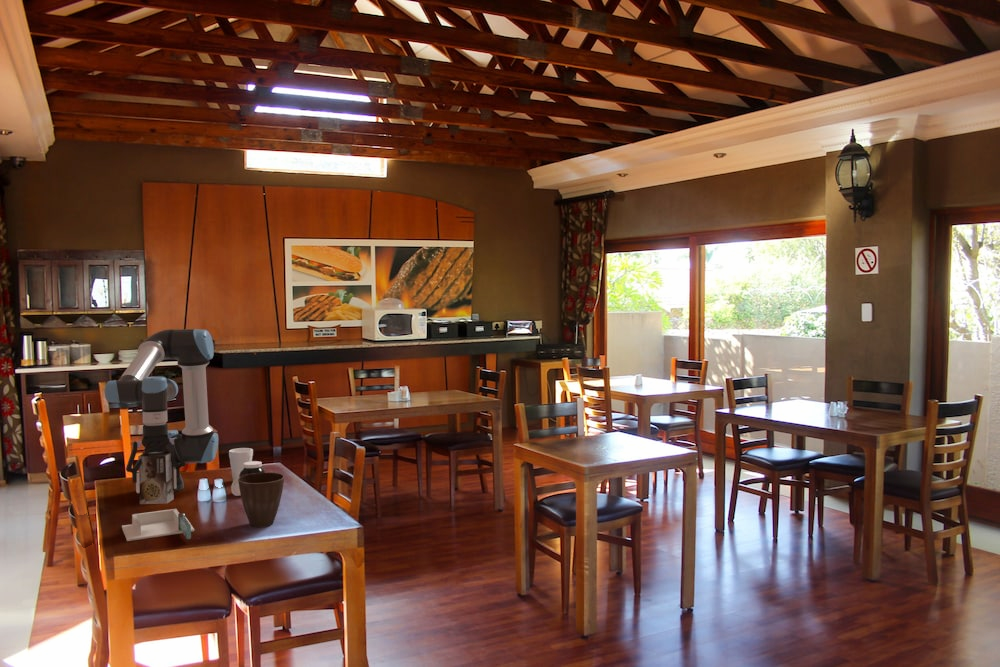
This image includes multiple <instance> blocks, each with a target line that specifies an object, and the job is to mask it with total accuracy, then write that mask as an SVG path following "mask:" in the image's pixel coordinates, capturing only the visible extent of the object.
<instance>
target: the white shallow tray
mask: <svg viewBox="0 0 1000 667" xmlns="http://www.w3.org/2000/svg"><path fill="white" fill-rule="evenodd" d="M178 514H180V512H179V511H178V509H177V508H171V509H163V510H156V511H148V512H141V513H133V514H131V524H126V525H125V524H124V525H121V530H122V532H123V535H124V536H125V539H126V542H131V541H137V540H138V541H139V540H145V539H146V540H147V539H151V538H159V537H165V536H171V535H172V536H173V535H178V534H180V535H181V534H183V532H182V531H181V530H178ZM185 518H186V520H187V521H188V523H189V524H190V525H191V533H192V532H195V528H194V527H193V525H192V524H191V522H190V521H189V519H188V518H187V517H186V516H185Z"/></svg>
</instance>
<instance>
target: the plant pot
mask: <svg viewBox="0 0 1000 667" xmlns="http://www.w3.org/2000/svg"><path fill="white" fill-rule="evenodd" d="M238 482H239V488H240V494H241V496H240V498H241V501H242V502H241V503H242V505H243V509H244V512H245V514H246V518H247V520H248V522H249V525H250V526H251V527H254V528H265V527H269V526H272V525H274V521H275V519H276V516H277V513H278V510H279V508H280V504H281V499H282V495H283V489H284V482H285V475H284V474H282V473H278V472H270V471H269V472H266V473H254V474H248V475H244V476H241V477H240V478H239V479H238Z"/></svg>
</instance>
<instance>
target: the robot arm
mask: <svg viewBox="0 0 1000 667" xmlns="http://www.w3.org/2000/svg"><path fill="white" fill-rule="evenodd" d="M214 347H215V346H214V342H213V338H212V335H211V333H210V332H209V331H208V330H207V329H198V328H184V329H183V328H182V329H179V328H177V329H176V328H175V329H169V328H167V329H163V330H159V331H157V332H155V333H153V334H151V335H150V336H148V337H147V338H145V339H144V340H143V341H142V342H141V343H140V345H139V346H138V348H137V354H136V355H135V357H134V358H133V360H132V361H131V362H130V363H129V365H128V366H127V368H126V369H125V371H124V372H123V373H122V374H121V376H120V377H119V379H118V380H116V379H114V380H109V381H107V382H106V384H105V386H104V398H105V400H106V402H108V403H112V404H114V403H117V404H120V403H121V404H122V403H123V404H124V403H125V404H126V403H142V404H141V405H142V424H143V425H142V439H141V440H138V441H137V440H133V441H132V442H131V444H132V449H131V452H130V454H129V458H128V462H127V464H126V467H125V471H126V472H127V473H131V476H132V477H131V479H132V483H133V484H134V483H135V490H136V491H135V492H136V493H137V494H140V484H139V467H140V466H141V464H142V457H141V459H140V460H139V461H138V460H137V461H136V463H135V464H134V461H135V459H136V455H137V452H138V449H139V448H140V447H141V445H142V446H143V447H144V449H143V451H142V452H141V454H140V455H142V456H147V455H148V454H149V452H151V453H152V452H165V453H170V452H173V453H172V454H173V456H172V455H171V462H172V463H173V492H174V493H176V492H179V491H182V490H184V485H185V484H184V480H183V478H182V475H181V473H180V472H181V470H180V469H181V468H182V467H185V466H186V464H204V463H205V464H207V463H212V462H213V461H214V460H215V458H216V456H217V451H218V447H219V434H218V433H217V432H214V428H213V427H212V426H211V425H210V424H209V423H210V422H209V421H210V420H209V406H208V390H207V389H208V388H207V387H208V386H207V385H208V384H207V370H206V367H207V366H208V365H209V364H210V360H212V359H214V358H213V357H214V354H215V352H214V349H215V348H214ZM164 360H176V361H177V366H178V367H179V368H181V372H182V374H181V375H182V390H183V404H184V418H185V422H184V424H185V426H184V428H183V429H182V430H181V433H179V430H177V429H169V426H168V424H167V422H168V402H170V401H172V400H173V399H175V397H176V396H177V395H178V393H179V387H178V384H177V382H176V381H174V380H172V379H170V378H167V377H165V376H150V374H151V373H152V372H153V371H154V369H155V367H156V366H157V365H158V364H160V363H161V362H162V361H164ZM133 464H134V466H133Z"/></svg>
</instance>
